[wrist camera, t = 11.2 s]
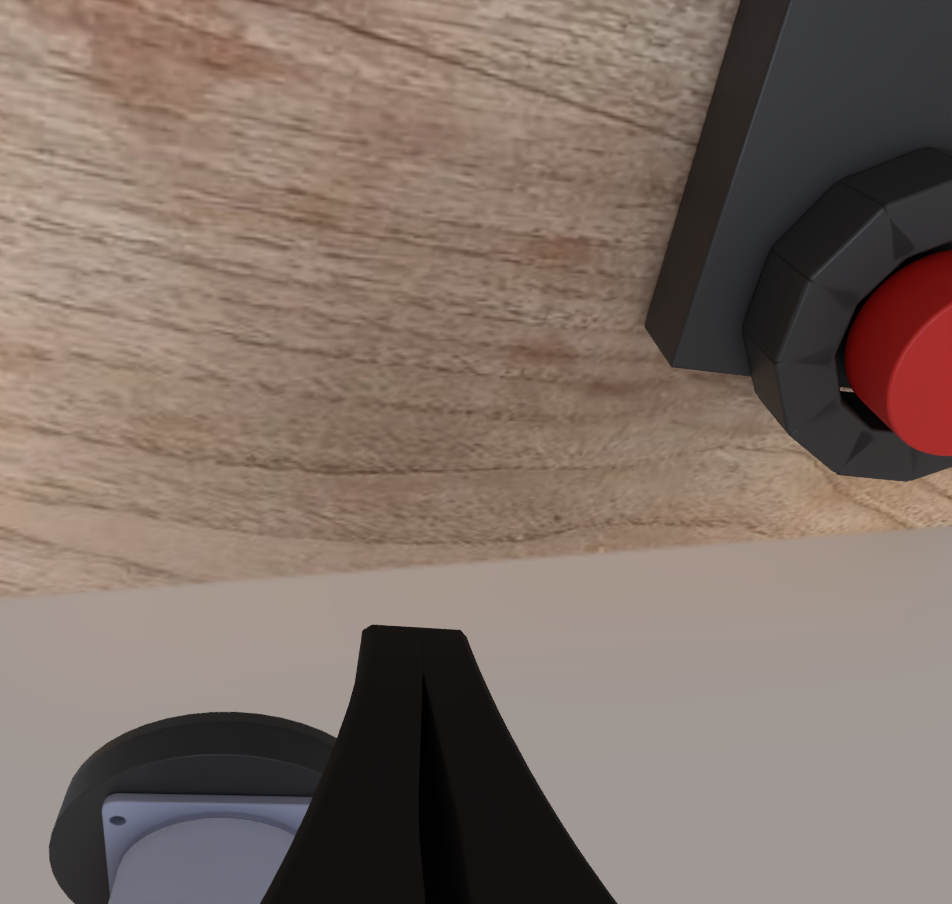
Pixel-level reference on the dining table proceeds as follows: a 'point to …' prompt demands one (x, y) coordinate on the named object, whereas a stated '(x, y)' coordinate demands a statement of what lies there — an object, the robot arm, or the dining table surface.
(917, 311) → the stop button
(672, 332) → the button box
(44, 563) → the dining table surface
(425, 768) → the robot arm
